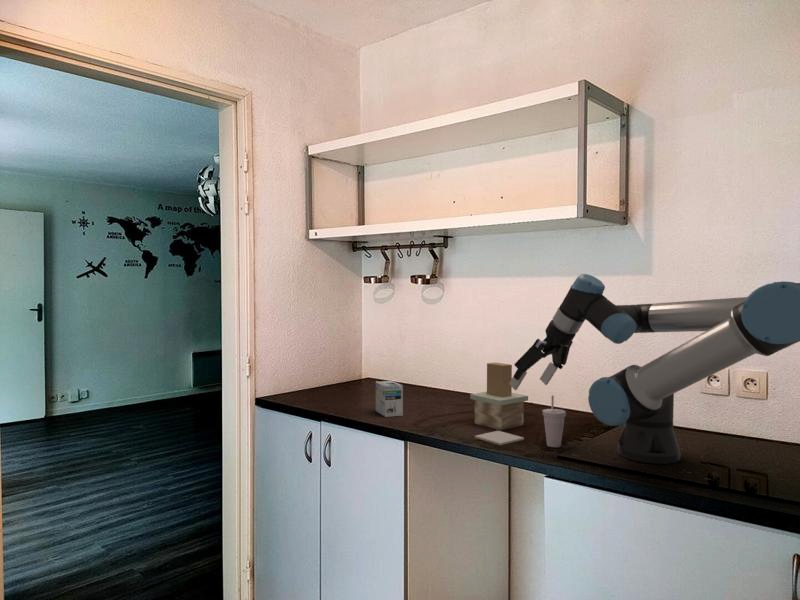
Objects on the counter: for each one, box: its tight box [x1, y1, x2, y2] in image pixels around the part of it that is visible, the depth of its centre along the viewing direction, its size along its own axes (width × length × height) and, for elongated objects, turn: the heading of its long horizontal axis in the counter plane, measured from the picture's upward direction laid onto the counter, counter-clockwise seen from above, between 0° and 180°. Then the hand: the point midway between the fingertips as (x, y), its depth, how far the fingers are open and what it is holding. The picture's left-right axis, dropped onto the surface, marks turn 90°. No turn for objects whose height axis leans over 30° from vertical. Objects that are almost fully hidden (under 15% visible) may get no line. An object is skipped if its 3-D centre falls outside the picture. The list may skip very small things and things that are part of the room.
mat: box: [474, 430, 525, 446], centre depth 165 cm, size 10×10×1 cm
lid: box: [469, 362, 529, 406], centre depth 182 cm, size 13×13×12 cm
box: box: [474, 400, 525, 431], centre depth 182 cm, size 11×11×8 cm
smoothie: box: [541, 395, 567, 448], centre depth 158 cm, size 6×6×14 cm
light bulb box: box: [375, 380, 404, 418], centre depth 197 cm, size 11×7×11 cm, turn 22°
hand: (528, 384), depth 163 cm, fingers open, 13 cm apart
